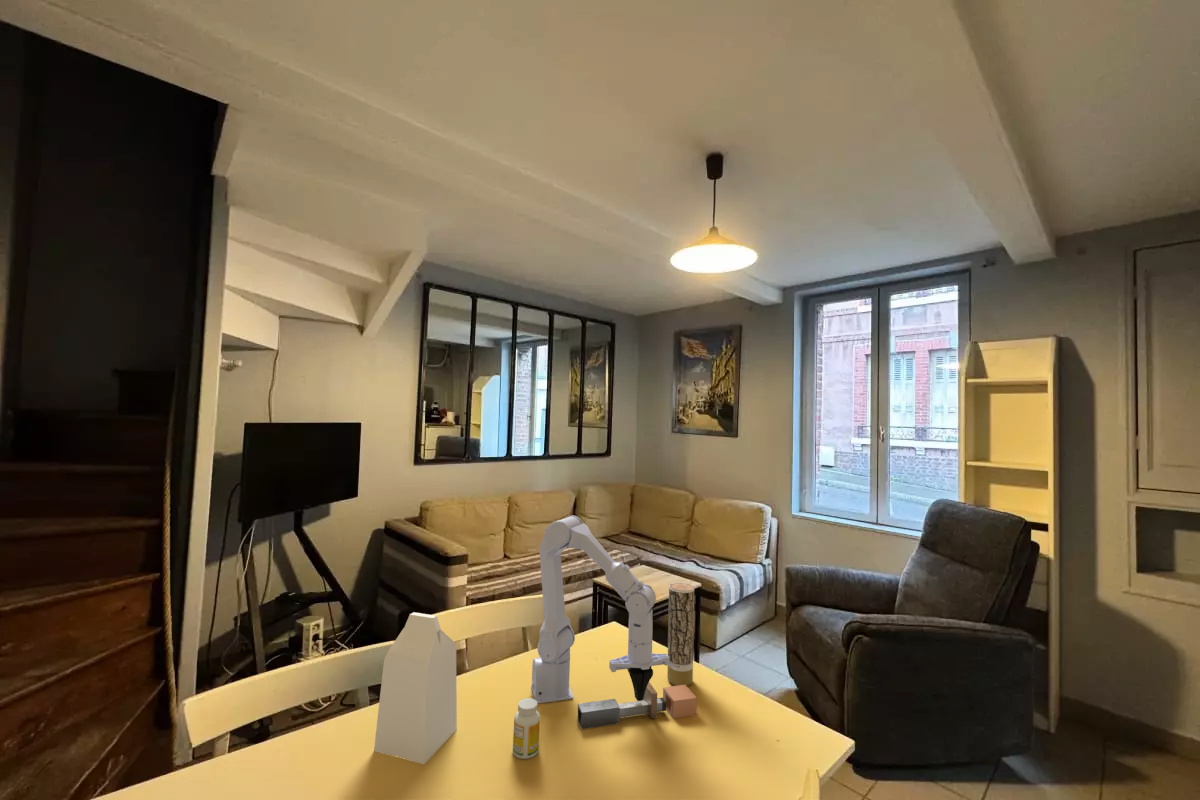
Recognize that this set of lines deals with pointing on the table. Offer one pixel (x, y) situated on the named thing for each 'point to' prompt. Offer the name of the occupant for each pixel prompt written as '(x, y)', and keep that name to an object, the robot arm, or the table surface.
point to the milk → (417, 691)
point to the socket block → (680, 701)
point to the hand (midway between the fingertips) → (638, 698)
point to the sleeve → (598, 713)
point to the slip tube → (644, 705)
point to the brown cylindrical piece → (680, 634)
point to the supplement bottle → (526, 729)
